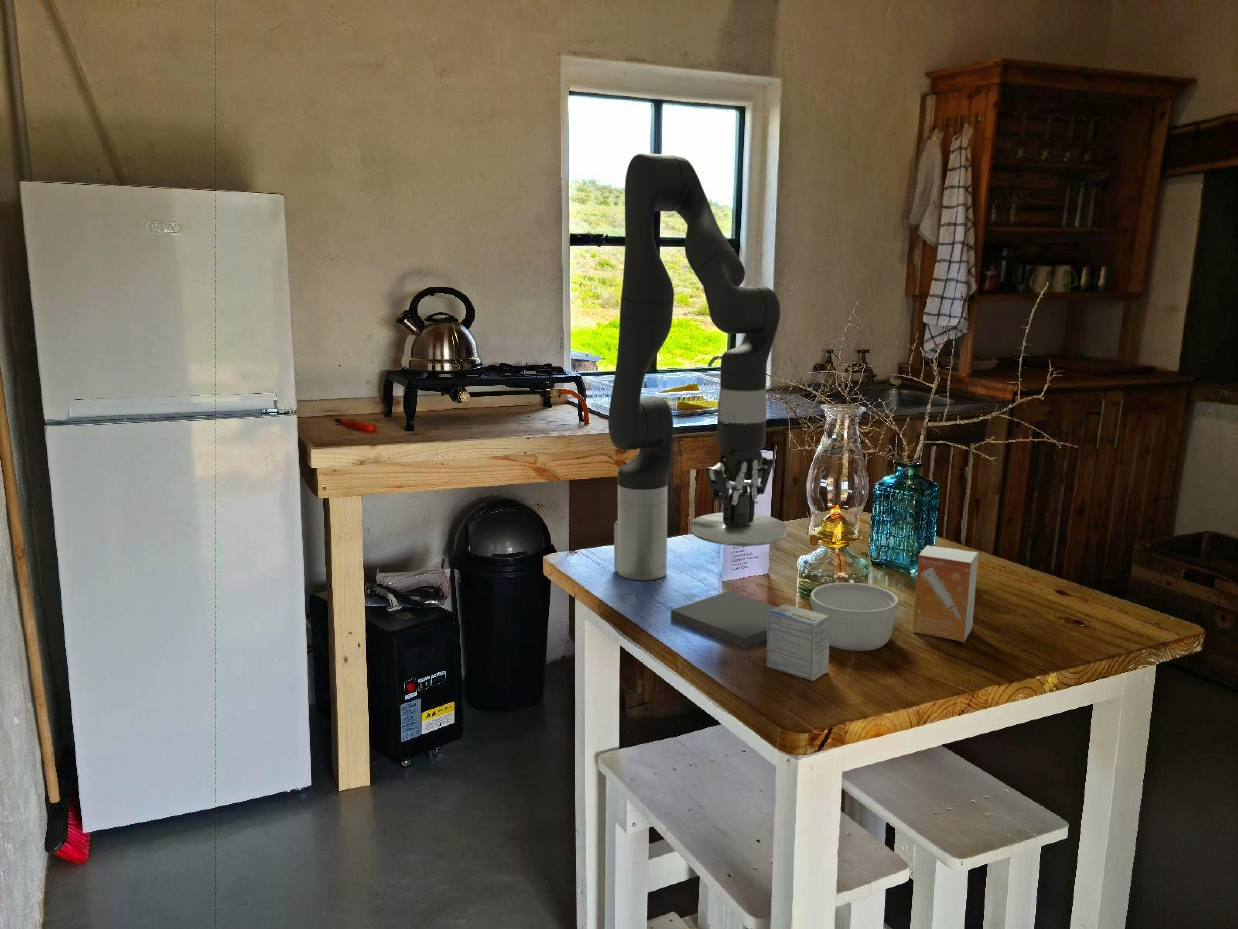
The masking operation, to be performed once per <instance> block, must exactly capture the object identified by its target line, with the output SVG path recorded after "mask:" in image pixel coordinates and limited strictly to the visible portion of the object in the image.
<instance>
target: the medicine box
mask: <svg viewBox="0 0 1238 929" xmlns="http://www.w3.org/2000/svg"><path fill="white" fill-rule="evenodd" d="M775 607H776V608H774V609H773V610H771V611H769V612H768V627H767V641H766V663H765V664H766V667H767V668H770V669H772V670H773V669H774V670H777V671H780V672H783V673H787V674H790V675H792V676H795V677H799V678H802V679H805V680H808V681H812V682H814V681H816V680H817V679H819V678H820V677H822V676H823V675H824V674H826V673H828V672H829V664H830V663H829V662H830V661H829V660H830V658H829V657H830V645H829V632H830V617H829V616H827V615H823V614H820V613H816V612H813V611H812V610H809V609H804V608H801V607H797V606H793V605H789V604H785V603H784V604H781V605H779V606H775Z"/></svg>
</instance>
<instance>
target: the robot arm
mask: <svg viewBox="0 0 1238 929" xmlns="http://www.w3.org/2000/svg"><path fill="white" fill-rule="evenodd" d="M628 163H629V164H628V166H627V169H626V175H625V180H624V233H625V234H624V238H625V239H624V260H623V276H622V287H621V294H620V295H621V296H620V310H619V324H618V325H619V329H618V344H617V355H616V356H617V357H616V364H615V372H614V379H613V384H612V391H611V395H610V403H609V407H608V408H609V409H608V418H607V421H608V422H607V426H608V427H607V429H608V433H609V437H610V440H611V443H612V444H613V446H614V447H615V448H616V449H618V450H620V451H629V450H638V449H639V451H638V453H637V455H635V457H634V458H632V459H631V460H630V461H629V462H627V463H625V464H623V465H622V466H621V467H619V469H618V471H617V520H616V521H615V522H614V524H613V527H614V528H613V539H614V540H613V546H614V547H613V554H614V555H613V556H614V558H613V560H614V561H613V570H614V571H616V572H617V574H618V576H620V577H621V578H624V579H628V580H633V581H652V580H657V579H660V578H664V577H665V576H666V575H667V570H668V568H667V566H668V565H667V560H668V558H667V555H668V483H669V482H668V479H669V478H668V477H669V474H670V472H671V468H672V458H673V457H672V452H673V439H674V416H673V413H672V409H671V406H670V404H669V403H668V401H666V399H665V398H663V397H661V396H645V397H644V396H643V397H641V396H642V394H641V393H642V388H643V383H644V380H645V377H646V374H647V372H648V369H649V368H650V366H651V365H652V362H653V361H654V359H655V358H656V357H657V355H658V353H659V352H660V350H661V349H662V347H663V345H665V342H666V340H667V338H668V337H669V333H670V331H671V329H672V323H673V312H674V303H675V302H674V301H675V289H674V286H673V282H672V279H671V276H670V275H669V272H668V271H667V268H666V266H665V264H664V262H663V260H662V258H661V256H660V253H659V251H658V249H657V246H656V242H655V236H654V233H655V232H654V212H675V213H677V214H678V215H679V216H680V218H682V219H683V221H684V222H685V224H686V226H687V227H686V232H685V233H686V234H685V240H684V254H685V258H686V259H687V261H688V262H687V264H688V265H689V266H690V269H692V271H693V273H694V275H695V276H696V278H697V279H698V281H699V283H700V284H701V286H702V288H703V291H704V292H703V293H704V296H705V301H706V305H707V308H708V312H709V313H708V314H709V317H710V320H711V322H712V324H713V325H714V326H715V327H716V328H717V329H719V331H720V332H722V333H725V334H729V335H730V334H731V335H734V334H736V335H737V334H744V337H743V339H742V341H741V343H740V344H739V345H738V346H737V347H733V348H732V349H731V348H730V349H728V350H725V351H724V352H723V354H722V356H721V359H720V360H721V361H720V376H719V377H720V380H719V383H720V384H719V387H720V388H719V394H718V400H717V401H718V402H717V424H716V425H717V427H716V428H717V429H716V430H717V433H716V445H717V446H718V447H719V449H720V455H719V458H718V462H717V463H716V465H714V466H713V467H711V466H707V468H706V469H705V474H706V478H707V481H708V485H709V487H710V492H711V495H712V499H713V500H714V501H718V502H721V503H722V504H723V509H722V513H723V522H724V524H725V526H728V527H732V528H733V527H736V526H737V518H738V505H737V501H738V495H739V492H746V493H749V494H750V506H749V523H752V522H753V518H754V514H755V506H756V500H757V498H758V496H759V495H764V493H765V492H766V489H767V486H768V481H769V479H770V475H771V472H772V469H773V466H774V459H773V458H770V457H765V456H763V453H762V451H761V450H762V449H763V448H765V447H766V438H767V437H766V435H767V434H766V433H767V412H768V401H767V400H768V399H767V389H766V388H767V370H768V369H767V368H768V367H767V363H768V359H769V358H770V354H771V350H772V348H773V347H772V346H773V343H774V340H775V337H776V333H777V330H778V328H779V323H780V317H781V305H780V300H779V298H778V296H777V294H776V293H775V292H774V290H773V289H771V288H770V287H768V286H762V285H759V286H758V285H756V286H755V285H754V286H753V285H752V286H741V285H742V284H743V282H744V280H745V276H746V270H745V266H744V264H743V263H742V262H743V261H741V258H740V257H739V256H738V254H737V253H736V252H735V250H734V249H733V247H732V246H731V244H730V242H729V241H728V240H727V238H726V236H725V235H724V233H723V231H722V230H721V228H720V226H719V225H718V222H717V220H716V218H715V215H714V212H713V210H712V207H711V204H710V202H709V200H708V197H707V195H706V193H705V191H704V188H703V185H702V183H701V180H700V177H699V176H698V173H697V172H696V170H695V167H694V166H693V165H692V163H691V162H690V161H689V160H688V159H687V158H685V157H683V156H679V155H673V154H661V153H659V154H658V153H647V152H646V153H645V152H643V153H637V154H635V155H634V156H633V157H632V158H631V159H630V161H629V162H628ZM759 479H760V481H759ZM731 482H732V483H731ZM730 490H731V492H730ZM730 493H731V496H729V494H730Z"/></svg>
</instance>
